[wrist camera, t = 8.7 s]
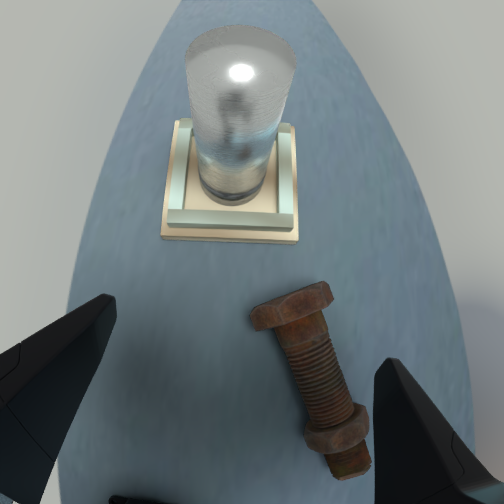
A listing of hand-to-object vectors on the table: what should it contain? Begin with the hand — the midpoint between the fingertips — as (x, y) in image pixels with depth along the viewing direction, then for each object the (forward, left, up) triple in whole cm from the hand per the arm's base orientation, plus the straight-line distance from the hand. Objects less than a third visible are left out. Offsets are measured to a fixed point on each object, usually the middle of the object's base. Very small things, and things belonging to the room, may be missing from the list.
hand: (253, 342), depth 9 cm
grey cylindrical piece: (+11, +1, -12) cm, 17 cm away
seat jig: (+12, +1, -14) cm, 18 cm away
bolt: (-4, -6, -14) cm, 16 cm away
